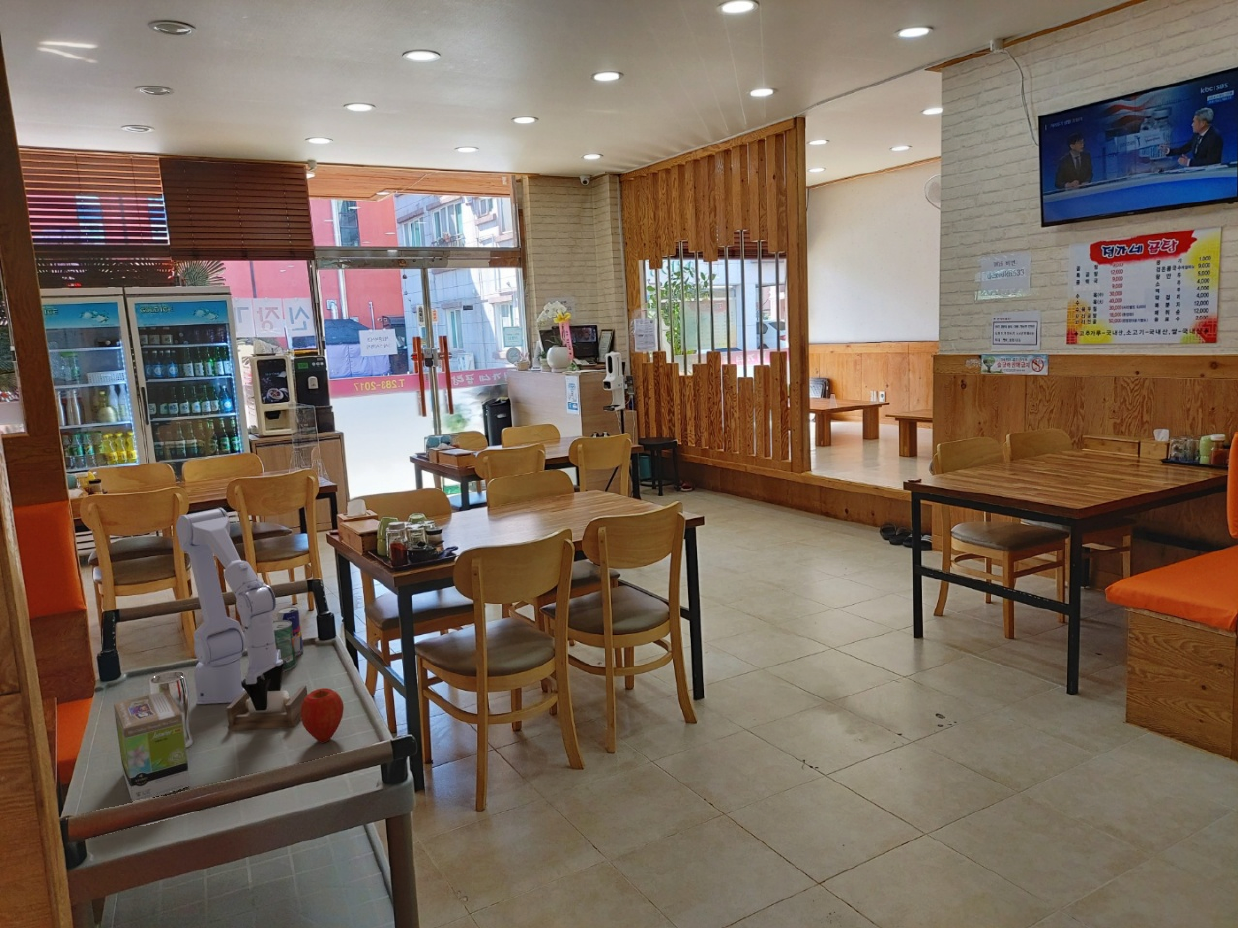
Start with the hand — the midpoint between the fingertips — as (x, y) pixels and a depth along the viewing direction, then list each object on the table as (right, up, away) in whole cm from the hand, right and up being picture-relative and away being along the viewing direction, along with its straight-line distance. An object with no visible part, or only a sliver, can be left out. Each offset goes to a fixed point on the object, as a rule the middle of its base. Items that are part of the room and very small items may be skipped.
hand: (268, 702), depth 191 cm
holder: (0, -4, +1) cm, 4 cm away
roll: (0, 0, 0) cm, 0 cm away
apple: (+16, -5, -11) cm, 20 cm away
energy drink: (-9, +2, +39) cm, 40 cm away
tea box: (-12, -9, -24) cm, 28 cm away
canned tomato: (-9, 0, +30) cm, 32 cm away
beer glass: (-15, -6, -10) cm, 19 cm away
